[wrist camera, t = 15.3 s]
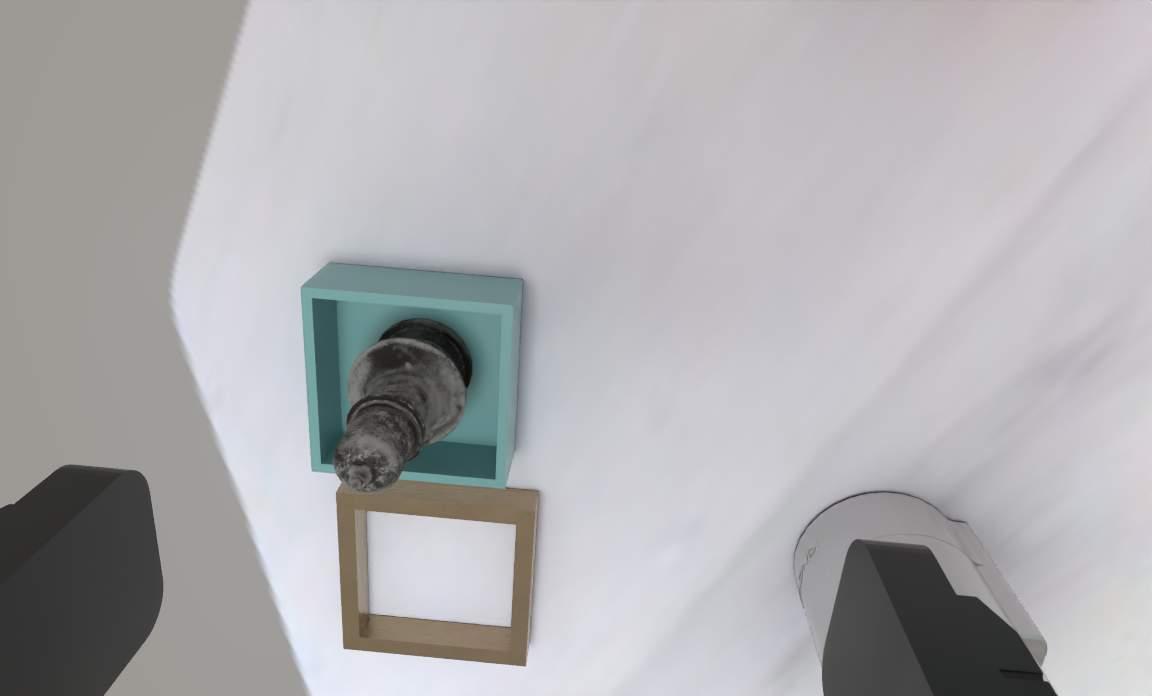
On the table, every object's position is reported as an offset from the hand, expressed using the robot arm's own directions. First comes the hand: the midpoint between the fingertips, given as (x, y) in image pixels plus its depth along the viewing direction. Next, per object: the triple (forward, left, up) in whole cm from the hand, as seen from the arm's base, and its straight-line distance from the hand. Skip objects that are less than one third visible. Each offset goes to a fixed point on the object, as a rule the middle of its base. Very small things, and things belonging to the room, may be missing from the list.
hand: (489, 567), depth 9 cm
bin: (+8, +12, -32) cm, 35 cm away
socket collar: (+7, +25, -32) cm, 41 cm away
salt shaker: (+8, +12, -32) cm, 35 cm away
